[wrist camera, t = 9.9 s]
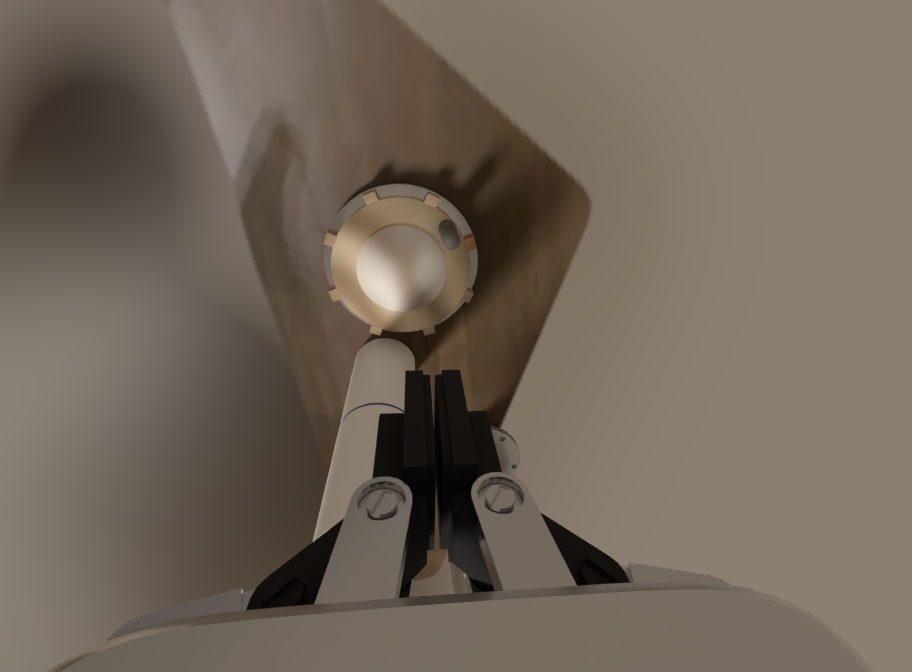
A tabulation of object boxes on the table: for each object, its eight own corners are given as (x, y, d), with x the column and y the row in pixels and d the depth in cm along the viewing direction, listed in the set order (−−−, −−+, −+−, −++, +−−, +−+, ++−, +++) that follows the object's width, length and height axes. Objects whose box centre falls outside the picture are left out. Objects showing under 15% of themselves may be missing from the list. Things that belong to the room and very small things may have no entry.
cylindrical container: (388, 326, 48) (368, 504, 26) (426, 367, 51) (438, 557, 29) (342, 360, 49) (286, 555, 27) (382, 398, 52) (361, 601, 30)
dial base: (494, 299, 48) (496, 302, 47) (366, 347, 49) (366, 351, 48) (446, 157, 40) (446, 158, 39) (296, 218, 41) (293, 220, 40)
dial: (402, 353, 48) (401, 385, 42) (296, 263, 42) (278, 285, 36) (502, 267, 44) (515, 289, 39) (401, 154, 38) (399, 160, 33)
